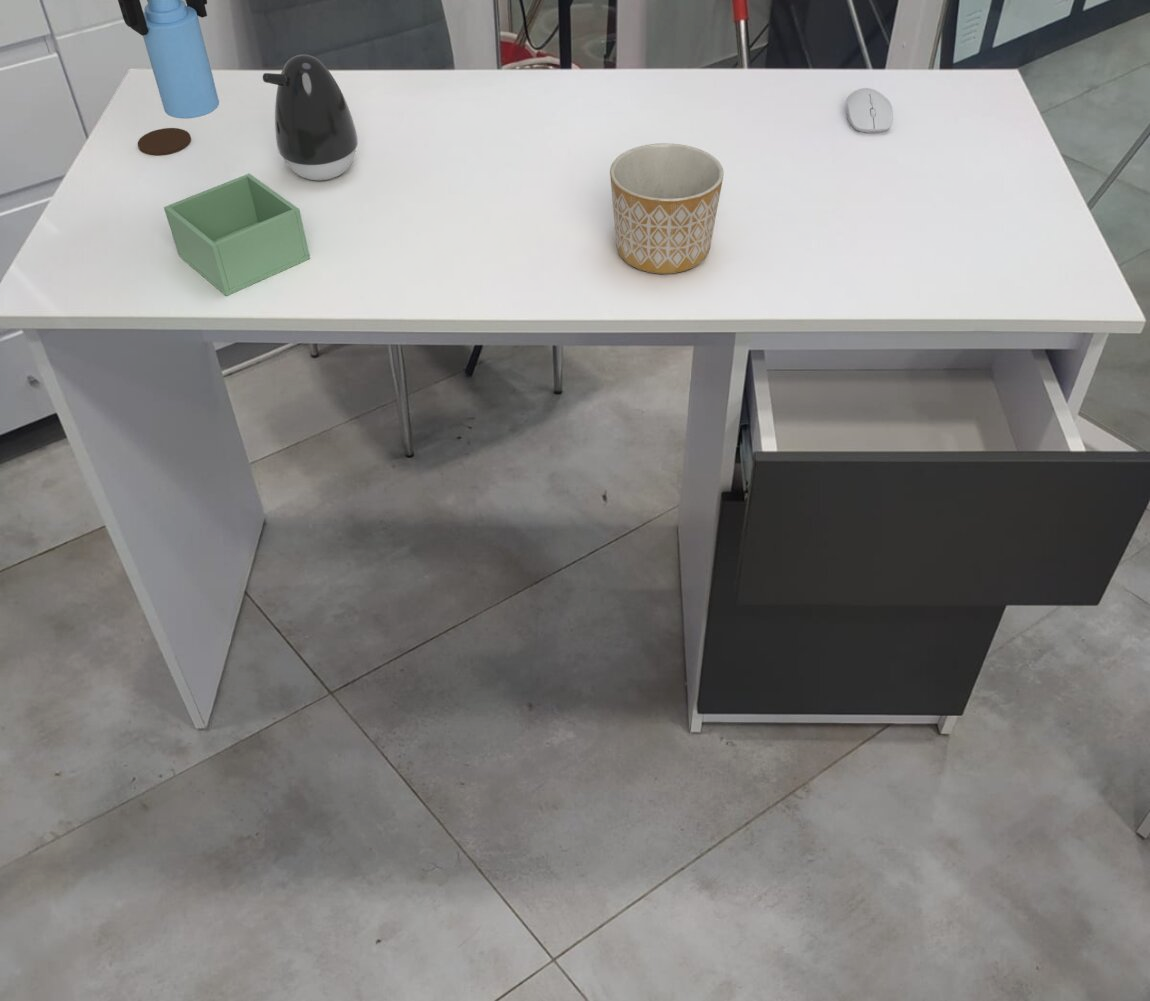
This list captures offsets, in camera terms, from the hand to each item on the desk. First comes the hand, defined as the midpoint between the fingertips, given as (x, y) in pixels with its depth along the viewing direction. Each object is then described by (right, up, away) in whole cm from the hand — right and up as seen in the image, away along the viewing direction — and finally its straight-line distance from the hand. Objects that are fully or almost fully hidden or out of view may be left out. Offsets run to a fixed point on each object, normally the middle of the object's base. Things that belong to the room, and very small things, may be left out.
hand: (168, 20), depth 118 cm
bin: (+4, -22, +14) cm, 26 cm away
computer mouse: (+83, +2, +36) cm, 91 cm away
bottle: (0, -7, +7) cm, 9 cm away
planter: (+53, -21, +14) cm, 59 cm away
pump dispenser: (+10, -8, +28) cm, 31 cm away
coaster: (-13, -2, +34) cm, 37 cm away
